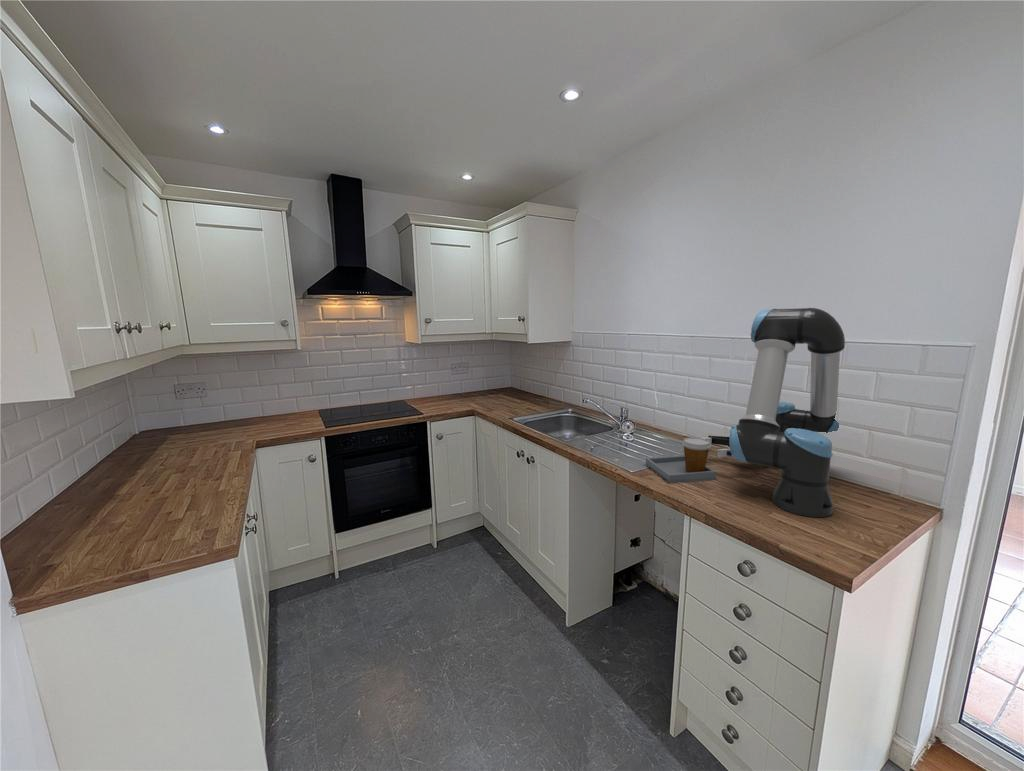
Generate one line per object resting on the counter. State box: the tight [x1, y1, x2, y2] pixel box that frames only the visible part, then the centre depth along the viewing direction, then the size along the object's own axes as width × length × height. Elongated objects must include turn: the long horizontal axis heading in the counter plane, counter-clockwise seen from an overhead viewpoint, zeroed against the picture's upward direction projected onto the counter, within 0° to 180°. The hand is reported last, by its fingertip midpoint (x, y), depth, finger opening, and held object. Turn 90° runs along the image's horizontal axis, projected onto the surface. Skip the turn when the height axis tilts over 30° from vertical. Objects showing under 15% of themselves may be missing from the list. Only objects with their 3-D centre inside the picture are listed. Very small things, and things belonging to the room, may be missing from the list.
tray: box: [645, 454, 717, 484], centre depth 152 cm, size 18×18×3 cm
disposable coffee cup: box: [682, 437, 712, 473], centre depth 148 cm, size 10×10×12 cm
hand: (706, 447), depth 152 cm, fingers open, 13 cm apart
